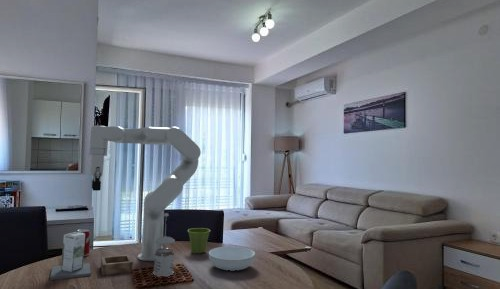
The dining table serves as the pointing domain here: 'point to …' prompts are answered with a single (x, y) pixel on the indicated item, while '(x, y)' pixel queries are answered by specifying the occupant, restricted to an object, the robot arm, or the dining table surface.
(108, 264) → the holder
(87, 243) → the soda can
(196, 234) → the plant pot
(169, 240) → the french press
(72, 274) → the mat
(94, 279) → the dining table surface
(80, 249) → the syrup box
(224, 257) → the serving bowl
